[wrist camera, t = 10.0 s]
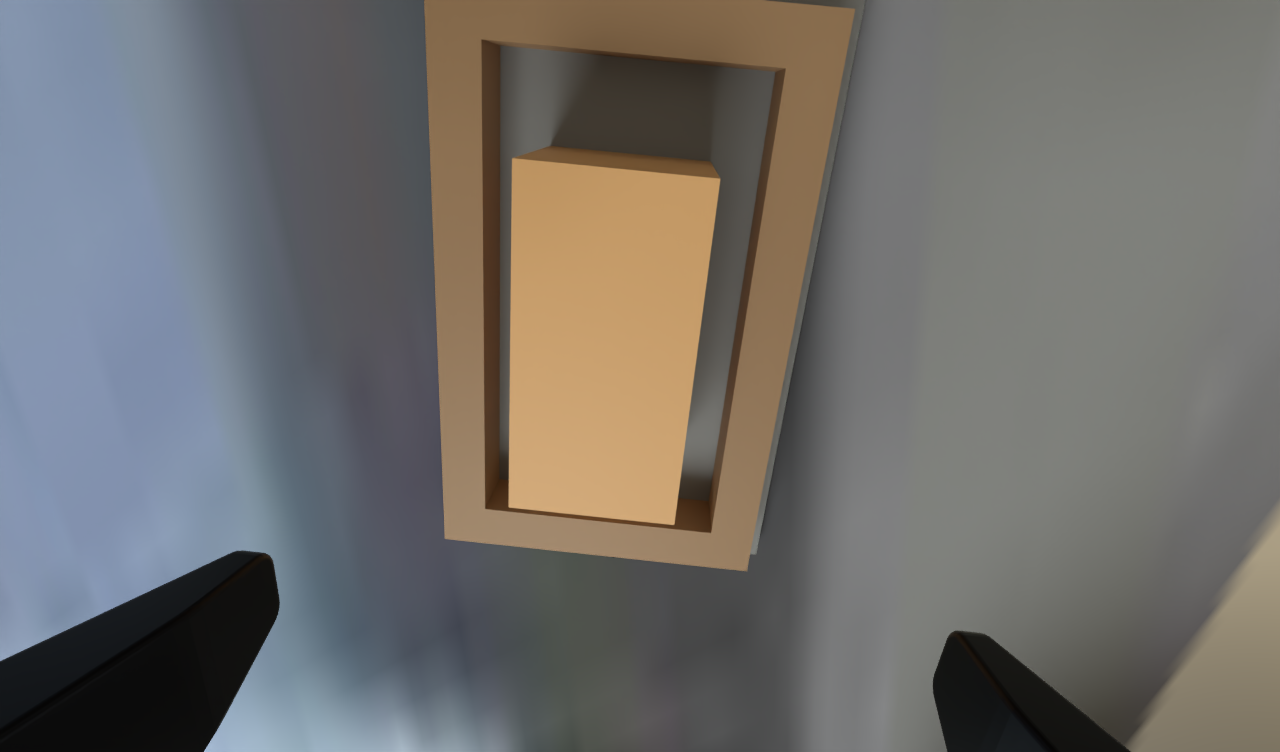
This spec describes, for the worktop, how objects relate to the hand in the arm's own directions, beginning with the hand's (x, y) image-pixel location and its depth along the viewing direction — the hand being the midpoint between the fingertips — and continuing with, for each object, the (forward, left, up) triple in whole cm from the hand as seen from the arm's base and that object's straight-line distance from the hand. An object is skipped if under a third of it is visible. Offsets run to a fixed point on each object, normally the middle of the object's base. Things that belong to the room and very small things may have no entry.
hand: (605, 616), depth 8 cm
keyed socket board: (+1, +1, -11) cm, 11 cm away
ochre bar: (+1, +1, -10) cm, 10 cm away
